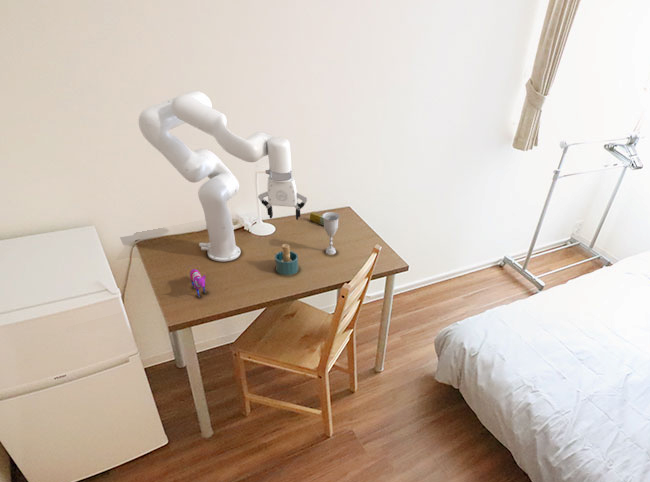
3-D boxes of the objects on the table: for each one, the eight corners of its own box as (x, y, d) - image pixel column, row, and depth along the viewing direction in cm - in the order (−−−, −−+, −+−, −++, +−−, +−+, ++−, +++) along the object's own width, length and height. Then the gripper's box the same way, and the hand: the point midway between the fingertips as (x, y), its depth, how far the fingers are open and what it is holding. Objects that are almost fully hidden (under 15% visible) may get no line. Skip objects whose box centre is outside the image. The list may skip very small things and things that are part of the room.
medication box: (333, 226, 221) (334, 219, 219) (330, 228, 219) (331, 220, 217) (312, 218, 224) (312, 211, 221) (309, 220, 221) (309, 212, 219)
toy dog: (201, 304, 164) (196, 281, 158) (187, 278, 174) (182, 255, 168) (212, 302, 166) (207, 278, 160) (197, 276, 176) (192, 253, 170)
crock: (274, 275, 184) (273, 262, 180) (277, 263, 191) (276, 250, 186) (297, 276, 186) (296, 263, 182) (299, 264, 192) (298, 251, 188)
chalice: (334, 258, 200) (335, 221, 189) (320, 254, 200) (319, 217, 189) (341, 250, 206) (342, 214, 194) (326, 247, 206) (326, 210, 195)
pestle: (281, 271, 186) (279, 248, 179) (282, 265, 189) (281, 242, 182) (291, 271, 187) (290, 248, 180) (292, 266, 190) (291, 243, 183)
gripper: (253, 176, 160) (259, 220, 170) (305, 180, 163) (307, 223, 174) (257, 168, 166) (262, 211, 176) (306, 172, 169) (308, 214, 179)
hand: (284, 217), depth 175 cm, fingers open, 9 cm apart
